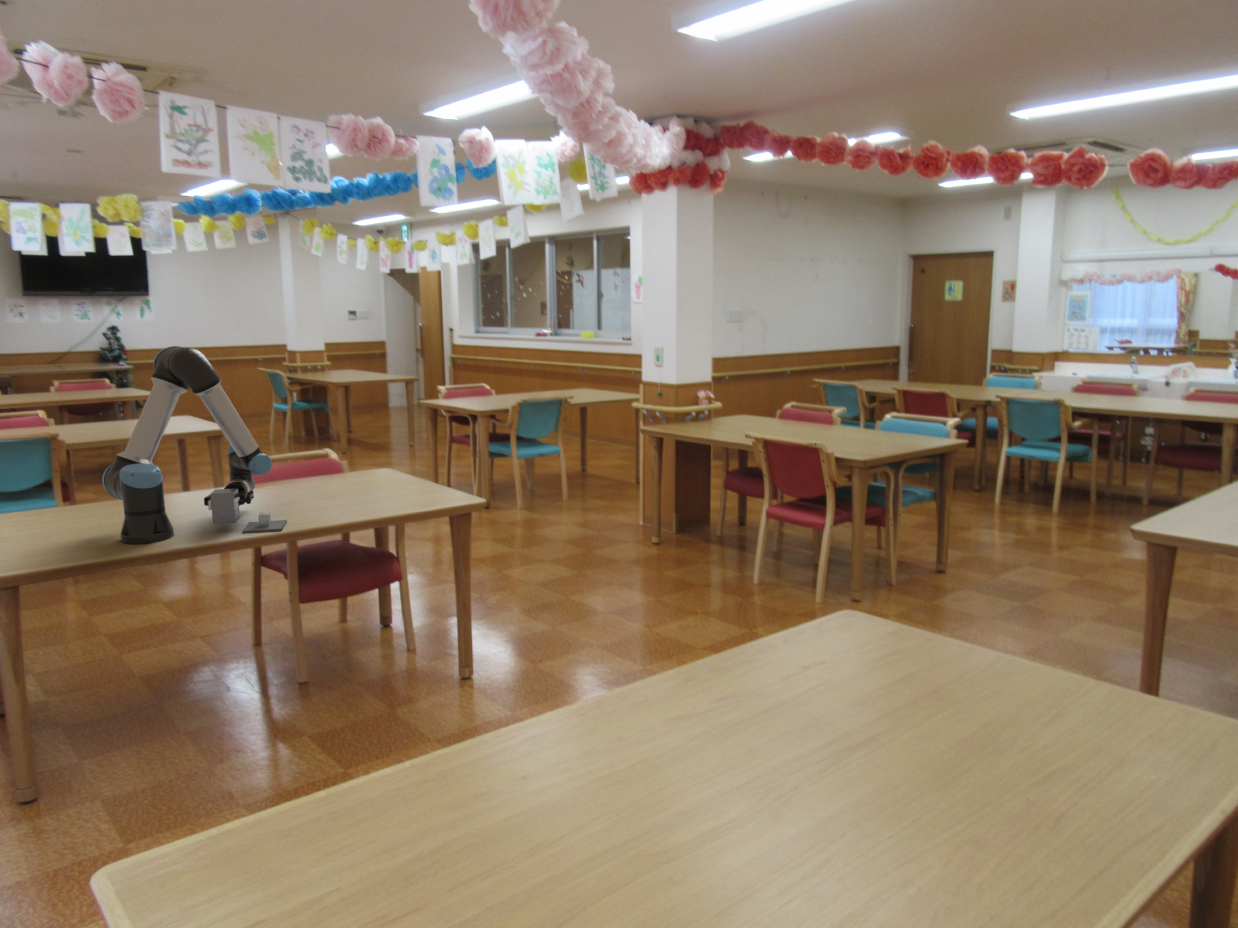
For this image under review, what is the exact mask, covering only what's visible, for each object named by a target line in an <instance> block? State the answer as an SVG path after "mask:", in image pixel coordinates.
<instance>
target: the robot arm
mask: <svg viewBox="0 0 1238 928" xmlns="http://www.w3.org/2000/svg"><path fill="white" fill-rule="evenodd" d="M152 363H153V365H152V366H153V370H154V371H153V372H152V375H151V378H150V379H151V382H152V384H153V385H152V388H151V389H150V392H149V395H148V397H147V398H146V401H145V403H144V406H143V408H142V411H141V413H140V415H139V417H138V419H137V422H136V423H135V426H134V429H133V431H132V433H131V436H130V438H129V440H128V442H127V444H126V446H125V449H124V451H122V452H119V453H117V454H116V456H115V459H114V461H113V463H112V464H111V465H109V466H108V467H107V468H105V470H104V472H103V474H102V478H101V480H102V481H101V483H102V486H103V488H104V490H105V491H106V493H108V495H110V496H111V497H113V498H115V499H118V500H120V501H122V505H123V513H124V518H123V522H122V527H121V531H120V542H122V543H124V544H130V545H133V544H134V545H141V544H151V543H155V542H156V543H157V542H162V541H165V540H168V539H171V538H172V537H174V536H175V532H174V527H173V525H172V522H171V520H170V518H169V516H168V514H167V512H166V506H165V505H166V502H165V492H164V483H163V479H164V478H163V477H164V476H163V475H162V470H161V468H160V467H159V466H158V465H156V464H154V463H153V459H154V457H155V454H156V452H157V450H158V447H159V446H160V442H161V440H162V438H163V435H164V433H165V431H166V428H167V427H168V424H169V422H170V420H171V418H172V415H173V413H174V410H175V408H176V405H177V404H178V401H179V399H180V396H181V395H182V394H186V393H188V391H189V389H190V390H191V391H192V393H193V394H194V395H197V396H199V399H200V400H201V402H203V404H204V406H205V407H206V408H207V410H208V412H209V414H211V416H212V419H213V420H214V421H215V423H216V424H217V426H218V427H219V429H220V431H221V432H222V434H223V436H224V437H225V438H226V440H227V441H228V443H229V445H227V457H228V459H227V460H228V469H229V470H228V471H229V483H228V484H226V485H225V487H224V488H223V489H238V497H237V498H236V499H235V500H234V509H237V508H238V507H239V508H240V506H242V505H243V506H244V505H245V503H246V504H247V505H250V504H251V503H252V500H253V499H254V498H255V494H254V489H255V486H256V485H255V484H256V481H255V479H254V477H253V475H257V476H263V475H267V474H268V473H269V472H270V471H271V470H272V468H273V460H272V459H271V457H270V456H269V455H268V454H266V453H264V452H263V451H262V449H261V447H260V446H259V445H258V443H257V441H256V439H255V438H254V437H253V435H252V433H251V432H250V430H249V428H248V427H247V426H246V424H245V422H244V421H243V419H242V417H241V415H240V414H239V413H238V410H237V409H236V408H235V406H234V405H233V402H232V401H231V399H230V397H229V396H228V395H227V393H226V391H225V390H224V388H223V386H222V385H221V383H222V379H221V377H220V376H219V374H218V372H217V370H216V369H215V368H214V366H213V364H212V363H211V362H210V361H209V358H207V356H206V355H205V354H204V353H203V352H202V351H200V350H198V349H196V348H194V347H184V346H183V347H182V346H178V345H172V346H168V347H165V348H163V349H160V350H159V351H158V352H157V353H156V355H155V356H154V359H153V362H152ZM203 503H204V505H203V506H205V507H206V506H207V507H208V508H207V509H208V511H212V506H211V493H209V494H208V495H207V496H205V497H203Z"/></svg>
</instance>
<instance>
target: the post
mask: <svg viewBox="0 0 1238 928" xmlns="http://www.w3.org/2000/svg"><path fill="white" fill-rule="evenodd" d="M257 518H258V522H259V527H263V526H270V525H271V521H272V520H271V512H269V511H267V512H259V513H258V517H257Z"/></svg>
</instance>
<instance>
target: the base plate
mask: <svg viewBox="0 0 1238 928" xmlns="http://www.w3.org/2000/svg"><path fill="white" fill-rule="evenodd" d="M287 523H288V519H280V520H279V519H277V520H271V525H270V526H263V527H259V521H249V522H248V523H247V525H246V526H245V527H244V528H243V530H242V534H252V533H253V534H254V533H269V532H270V533H272V532H282V531H283V530H284V527H285V526H286V525H287Z"/></svg>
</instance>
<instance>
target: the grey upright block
mask: <svg viewBox="0 0 1238 928" xmlns="http://www.w3.org/2000/svg"><path fill="white" fill-rule="evenodd" d="M210 494H211V506H212V510H211V517H212V524H213V525H215V524H231V523H237V522H238V520H239V519H240V518H241V513H240V506H239V507H238V508H237V509H234V500H235V499H236V498H237V497H238V489H224V488H219V489H218V488H217V489H216V488H215V489H214V490H213V491H212V492H211V493H210Z"/></svg>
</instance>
